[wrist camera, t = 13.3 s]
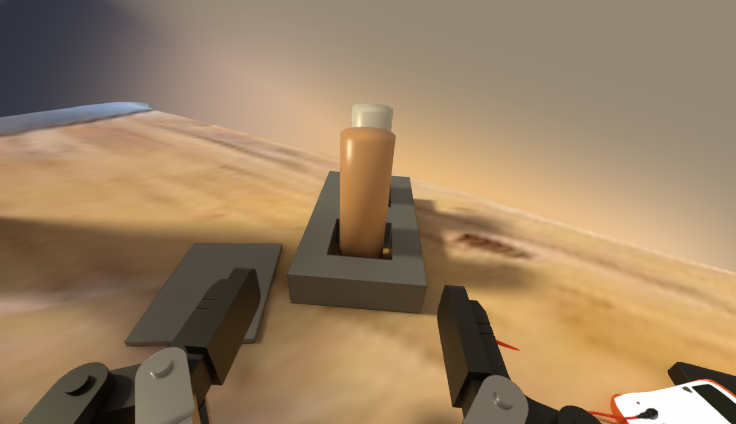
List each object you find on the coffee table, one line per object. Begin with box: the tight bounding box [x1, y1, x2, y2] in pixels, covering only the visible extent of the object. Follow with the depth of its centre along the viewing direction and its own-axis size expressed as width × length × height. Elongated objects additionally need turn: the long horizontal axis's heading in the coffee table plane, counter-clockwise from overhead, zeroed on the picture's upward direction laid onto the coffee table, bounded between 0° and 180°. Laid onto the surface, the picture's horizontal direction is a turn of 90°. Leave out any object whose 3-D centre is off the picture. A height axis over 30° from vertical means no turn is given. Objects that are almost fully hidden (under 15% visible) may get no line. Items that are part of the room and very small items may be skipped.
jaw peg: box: [340, 127, 396, 259], centre depth 23 cm, size 4×4×12 cm
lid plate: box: [124, 243, 282, 346], centre depth 23 cm, size 8×10×1 cm
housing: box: [287, 104, 427, 313], centre depth 26 cm, size 10×18×12 cm, turn 177°
